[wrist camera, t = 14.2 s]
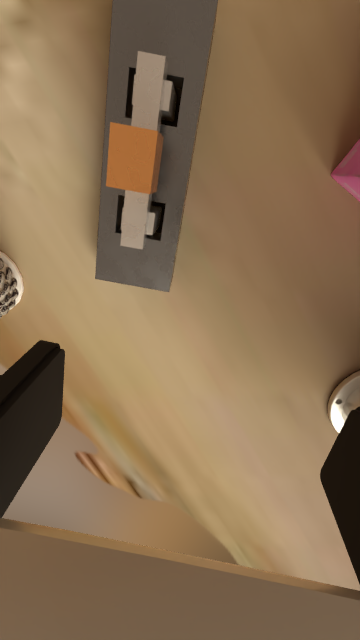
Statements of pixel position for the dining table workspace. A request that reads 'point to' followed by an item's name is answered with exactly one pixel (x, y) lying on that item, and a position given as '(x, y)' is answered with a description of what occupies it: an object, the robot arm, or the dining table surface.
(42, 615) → the robot arm
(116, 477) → the dining table surface
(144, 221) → the clip
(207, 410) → the dining table surface
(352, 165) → the gum box
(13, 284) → the decorative candle
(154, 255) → the grey block with holes
